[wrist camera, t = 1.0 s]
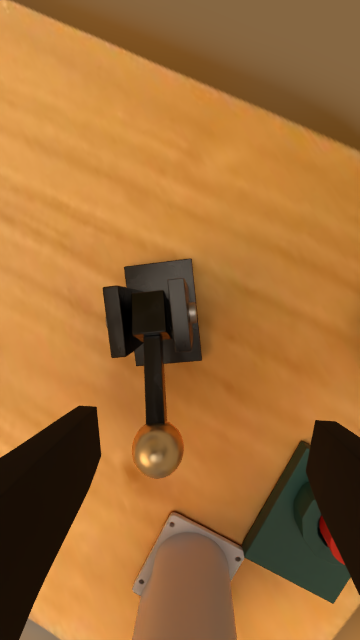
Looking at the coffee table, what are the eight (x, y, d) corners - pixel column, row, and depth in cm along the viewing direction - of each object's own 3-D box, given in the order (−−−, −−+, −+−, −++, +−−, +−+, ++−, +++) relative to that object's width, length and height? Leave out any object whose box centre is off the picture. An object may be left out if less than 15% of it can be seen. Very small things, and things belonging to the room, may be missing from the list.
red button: (350, 552, 20) (365, 576, 18) (310, 531, 20) (321, 553, 18) (372, 516, 19) (390, 537, 18) (332, 496, 20) (345, 515, 18)
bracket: (201, 357, 22) (203, 387, 14) (138, 363, 23) (107, 395, 15) (191, 260, 22) (188, 236, 14) (127, 268, 22) (88, 249, 14)
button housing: (326, 588, 23) (345, 631, 20) (241, 544, 23) (248, 580, 20) (391, 485, 22) (422, 514, 19) (301, 440, 22) (317, 461, 19)
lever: (187, 467, 15) (183, 486, 12) (140, 469, 15) (125, 489, 12) (175, 302, 18) (169, 286, 15) (136, 307, 18) (123, 291, 15)
